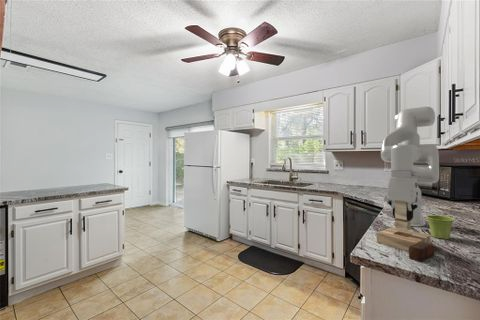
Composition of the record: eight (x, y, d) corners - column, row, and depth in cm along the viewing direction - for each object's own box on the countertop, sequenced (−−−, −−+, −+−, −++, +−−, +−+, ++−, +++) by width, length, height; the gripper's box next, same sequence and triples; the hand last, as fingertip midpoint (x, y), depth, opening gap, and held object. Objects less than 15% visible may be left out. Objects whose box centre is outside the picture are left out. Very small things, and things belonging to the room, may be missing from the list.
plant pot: (420, 234, 104) (420, 215, 104) (437, 232, 106) (437, 214, 106) (443, 241, 95) (442, 221, 95) (460, 239, 97) (460, 219, 97)
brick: (422, 263, 76) (421, 249, 76) (408, 258, 80) (408, 245, 80) (435, 256, 82) (435, 243, 82) (422, 252, 85) (422, 240, 85)
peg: (399, 226, 96) (398, 198, 96) (410, 229, 93) (410, 200, 93) (395, 228, 94) (394, 199, 94) (406, 231, 90) (406, 201, 90)
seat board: (392, 235, 103) (391, 227, 103) (430, 245, 91) (430, 235, 91) (376, 242, 95) (376, 232, 95) (416, 253, 84) (416, 242, 84)
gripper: (430, 175, 88) (431, 221, 88) (384, 173, 102) (384, 213, 102) (423, 176, 84) (424, 225, 84) (376, 174, 98) (376, 216, 98)
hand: (402, 218), depth 93 cm, fingers closed on peg, 4 cm apart
